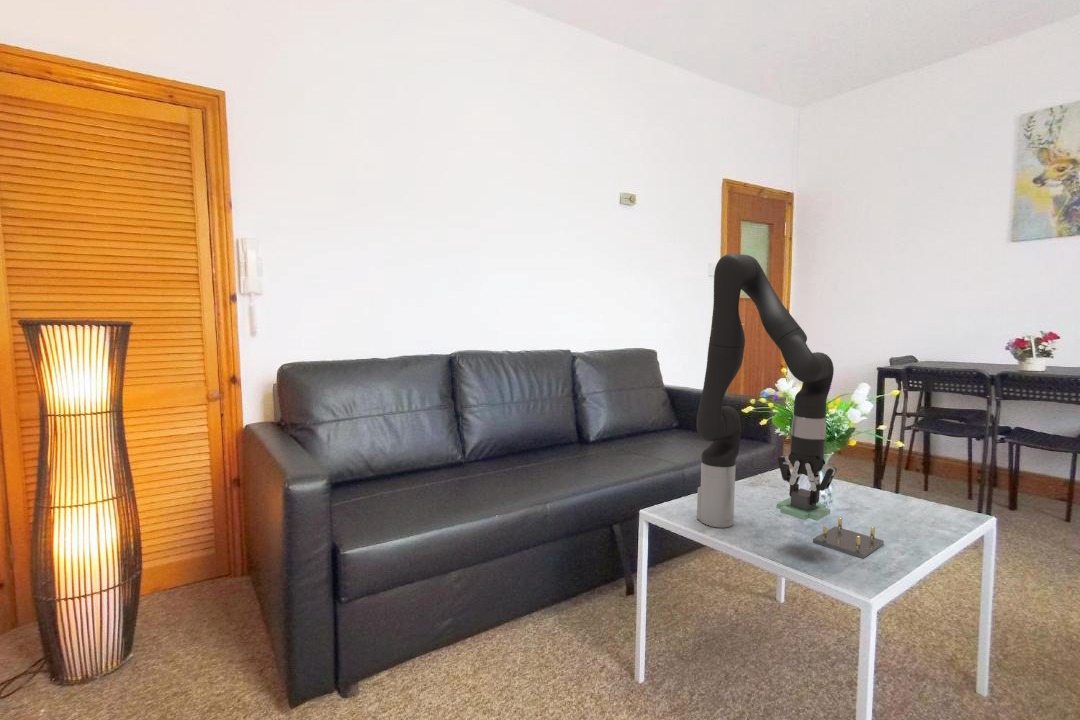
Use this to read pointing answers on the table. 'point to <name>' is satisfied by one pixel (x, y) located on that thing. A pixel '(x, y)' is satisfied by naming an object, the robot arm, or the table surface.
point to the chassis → (848, 541)
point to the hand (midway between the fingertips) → (803, 501)
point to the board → (802, 513)
